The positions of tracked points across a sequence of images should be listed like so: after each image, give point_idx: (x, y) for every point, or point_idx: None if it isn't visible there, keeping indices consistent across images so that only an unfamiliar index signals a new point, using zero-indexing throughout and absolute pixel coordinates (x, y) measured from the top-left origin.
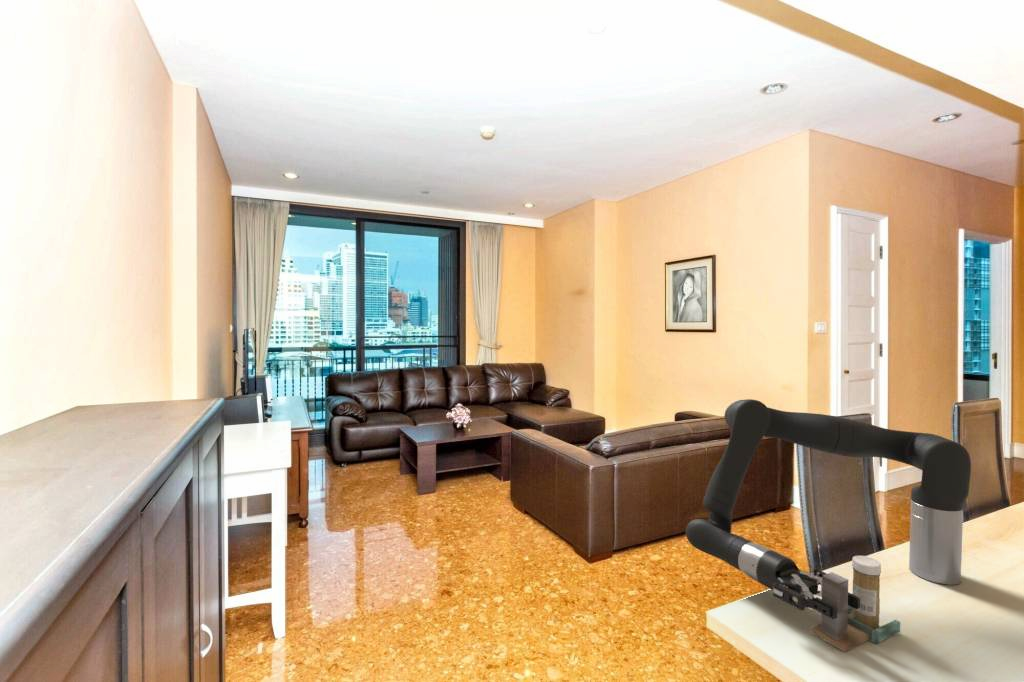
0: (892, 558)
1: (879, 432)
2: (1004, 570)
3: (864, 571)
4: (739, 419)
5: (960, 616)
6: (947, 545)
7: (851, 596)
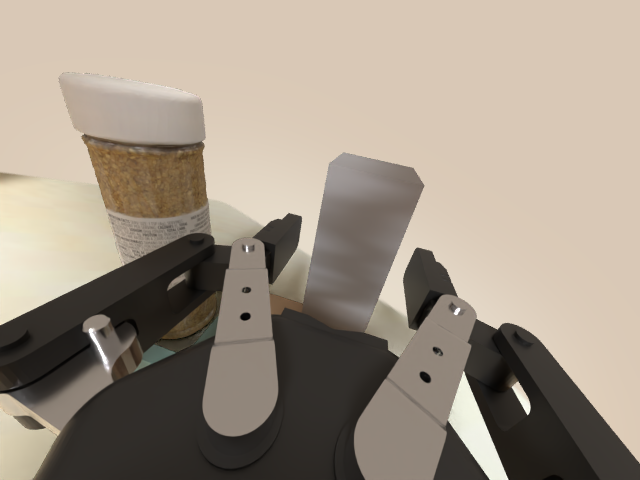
0: None
1: None
2: None
3: (203, 130)
4: None
5: (59, 208)
6: None
7: (294, 224)
